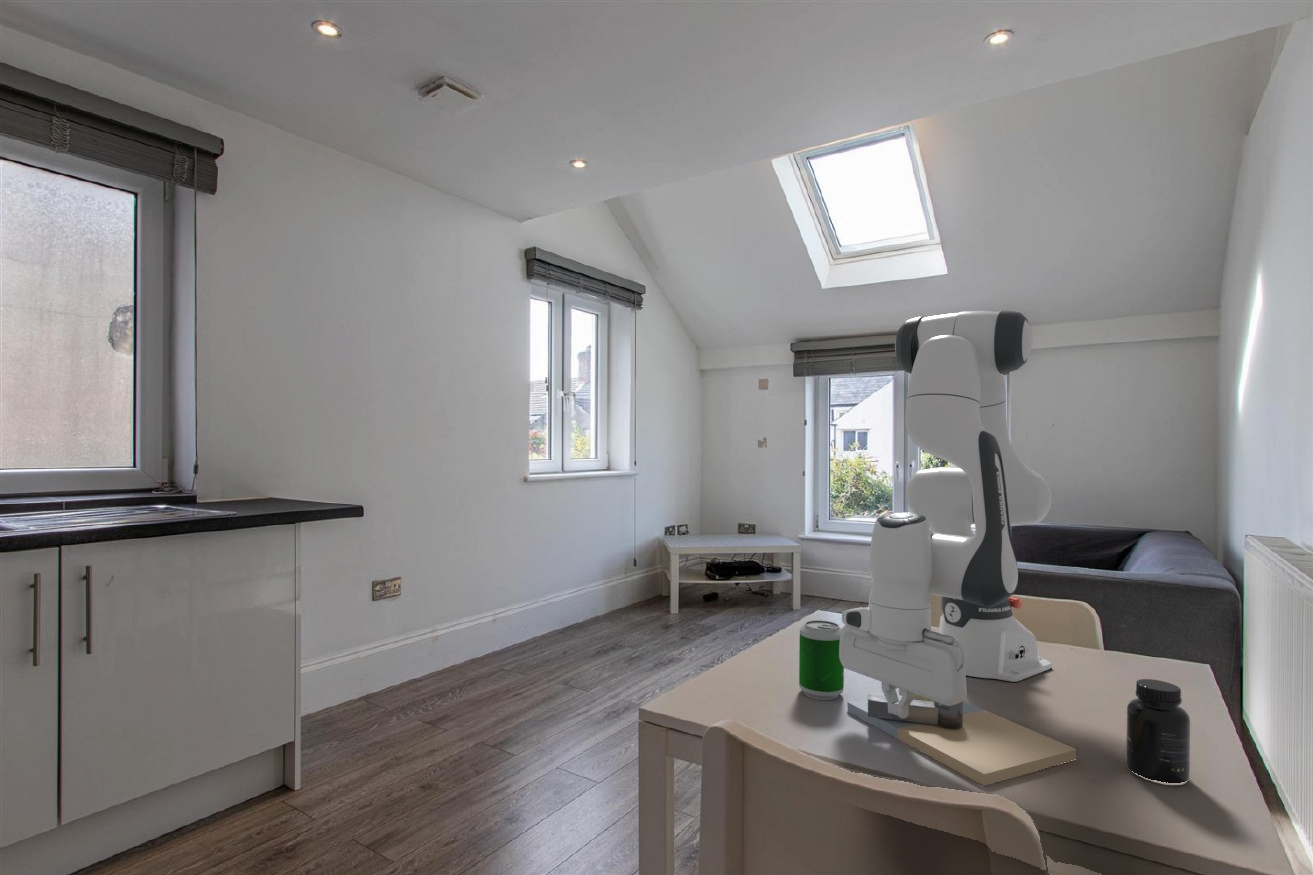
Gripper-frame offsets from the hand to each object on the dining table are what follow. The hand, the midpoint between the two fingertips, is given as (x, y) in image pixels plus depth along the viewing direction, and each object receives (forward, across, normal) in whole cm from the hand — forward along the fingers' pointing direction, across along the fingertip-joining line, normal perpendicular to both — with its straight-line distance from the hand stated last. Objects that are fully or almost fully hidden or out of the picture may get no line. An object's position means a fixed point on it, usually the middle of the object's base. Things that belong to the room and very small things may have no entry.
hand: (897, 715), depth 102 cm
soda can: (+3, +18, -3) cm, 19 cm away
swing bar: (+1, 0, -4) cm, 4 cm away
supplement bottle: (+3, -26, -20) cm, 33 cm away
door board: (+3, -4, -7) cm, 8 cm away
